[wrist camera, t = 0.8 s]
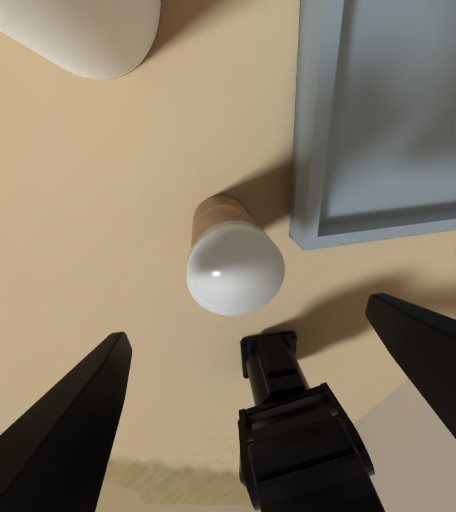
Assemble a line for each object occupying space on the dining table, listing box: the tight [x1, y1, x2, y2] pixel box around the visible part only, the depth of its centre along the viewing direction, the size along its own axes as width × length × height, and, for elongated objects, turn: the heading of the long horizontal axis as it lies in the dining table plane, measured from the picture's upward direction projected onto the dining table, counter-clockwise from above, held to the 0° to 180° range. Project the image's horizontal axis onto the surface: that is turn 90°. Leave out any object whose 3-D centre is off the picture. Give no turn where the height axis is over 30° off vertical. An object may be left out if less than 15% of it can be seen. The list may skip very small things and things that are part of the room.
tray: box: [289, 0, 456, 250], centre depth 15 cm, size 18×20×3 cm
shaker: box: [187, 195, 285, 315], centre depth 14 cm, size 5×5×8 cm
